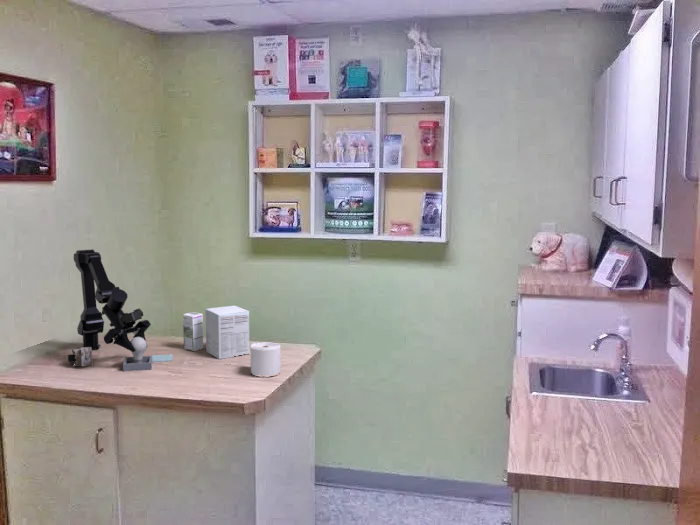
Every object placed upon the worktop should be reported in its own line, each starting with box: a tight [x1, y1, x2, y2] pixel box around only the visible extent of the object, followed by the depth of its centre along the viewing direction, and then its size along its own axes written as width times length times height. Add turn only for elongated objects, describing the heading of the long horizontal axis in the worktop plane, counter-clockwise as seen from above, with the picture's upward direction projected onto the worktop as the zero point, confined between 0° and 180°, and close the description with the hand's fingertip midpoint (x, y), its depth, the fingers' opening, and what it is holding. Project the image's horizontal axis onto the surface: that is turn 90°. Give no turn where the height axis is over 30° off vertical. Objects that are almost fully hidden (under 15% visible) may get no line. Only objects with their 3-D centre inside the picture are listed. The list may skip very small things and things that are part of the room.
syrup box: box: [182, 311, 204, 352], centre depth 271 cm, size 6×6×14 cm
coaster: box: [150, 353, 174, 363], centre depth 257 cm, size 8×8×1 cm
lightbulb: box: [130, 337, 148, 363], centre depth 246 cm, size 6×6×11 cm
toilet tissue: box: [249, 341, 282, 376], centre depth 240 cm, size 11×12×10 cm
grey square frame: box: [122, 355, 153, 372], centre depth 247 cm, size 10×10×2 cm
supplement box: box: [205, 305, 250, 360], centre depth 265 cm, size 13×13×18 cm
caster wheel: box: [67, 347, 93, 367], centre depth 249 cm, size 7×11×10 cm
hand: (140, 349), depth 245 cm, fingers closed on lightbulb, 6 cm apart
